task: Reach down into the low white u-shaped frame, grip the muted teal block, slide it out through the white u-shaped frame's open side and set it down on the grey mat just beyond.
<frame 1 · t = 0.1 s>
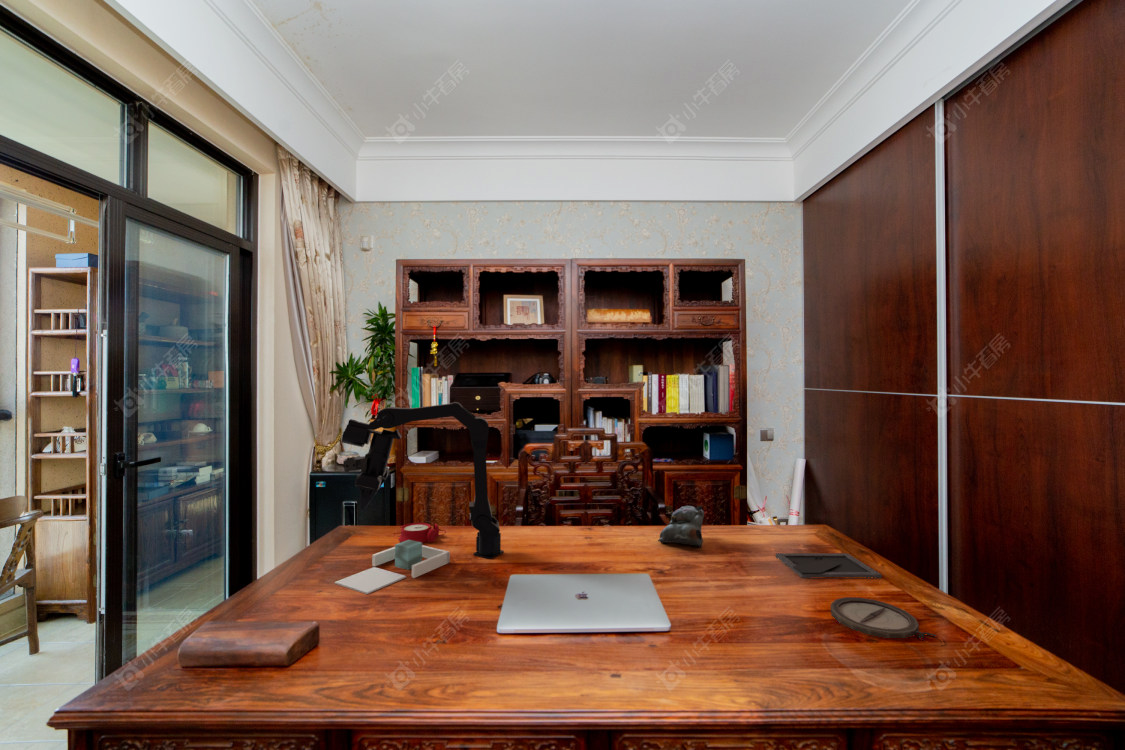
hand: (365, 505, 147), 15 cm above the table, tool pointing down, fingers open, 9 cm apart
picture frame: (825, 569, 145), on the table
white u-shaped frame: (409, 564, 144), on the table
teal block: (408, 565, 143), on the table
grey mat: (370, 580, 133), on the table
compass: (877, 626, 112), on the table
alarm clock: (421, 540, 166), on the table
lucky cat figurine: (681, 544, 163), on the table
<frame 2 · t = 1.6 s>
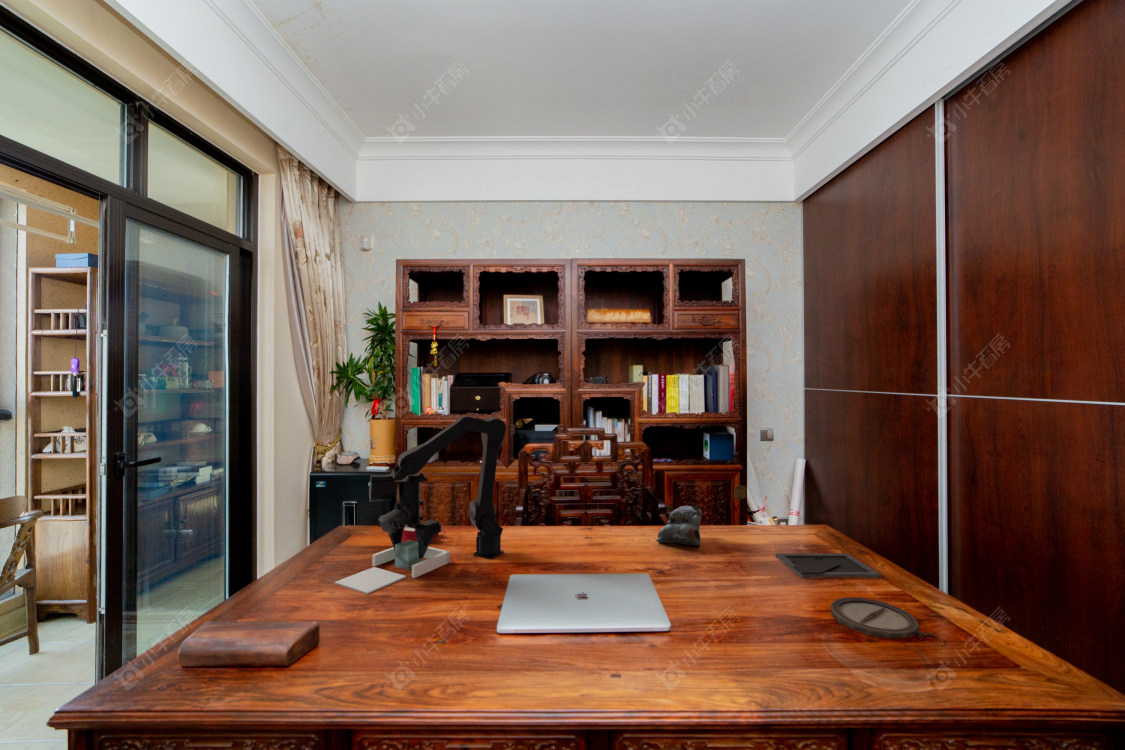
hand: (408, 555, 143), 3 cm above the table, tool pointing down, fingers open, 9 cm apart
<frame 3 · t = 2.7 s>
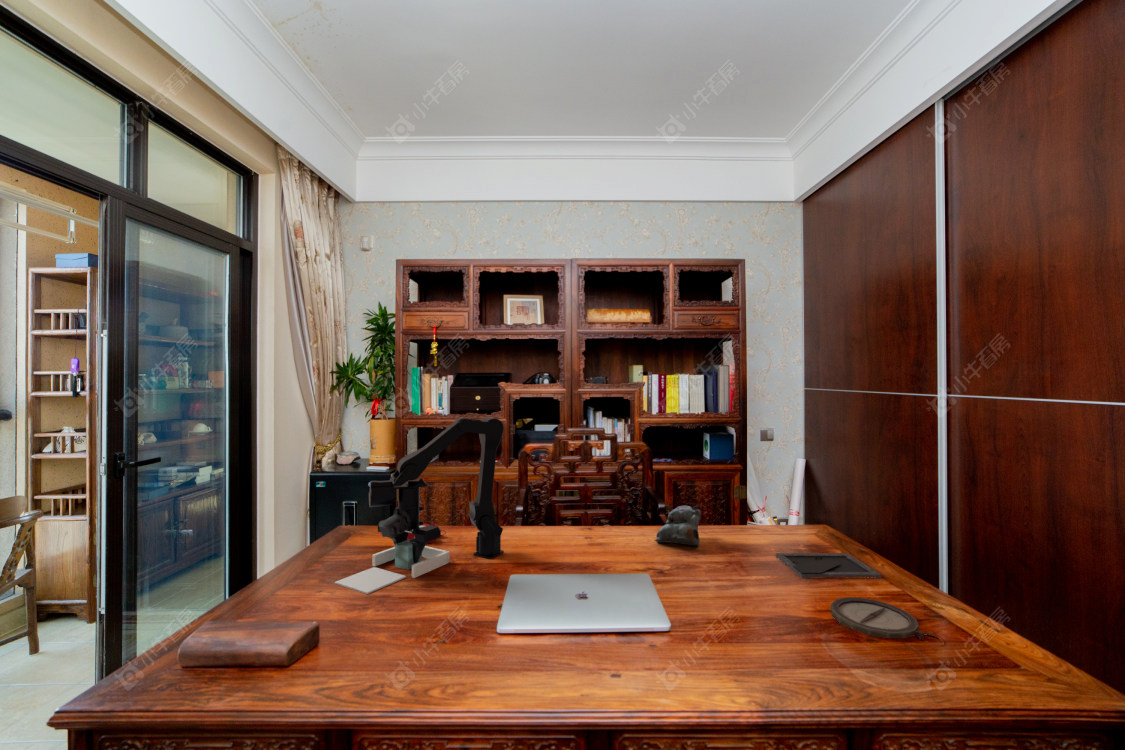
hand: (408, 560, 143), 1 cm above the table, tool pointing down, fingers closed on teal block, 5 cm apart
teal block: (408, 565, 143), on the table, touching gripper
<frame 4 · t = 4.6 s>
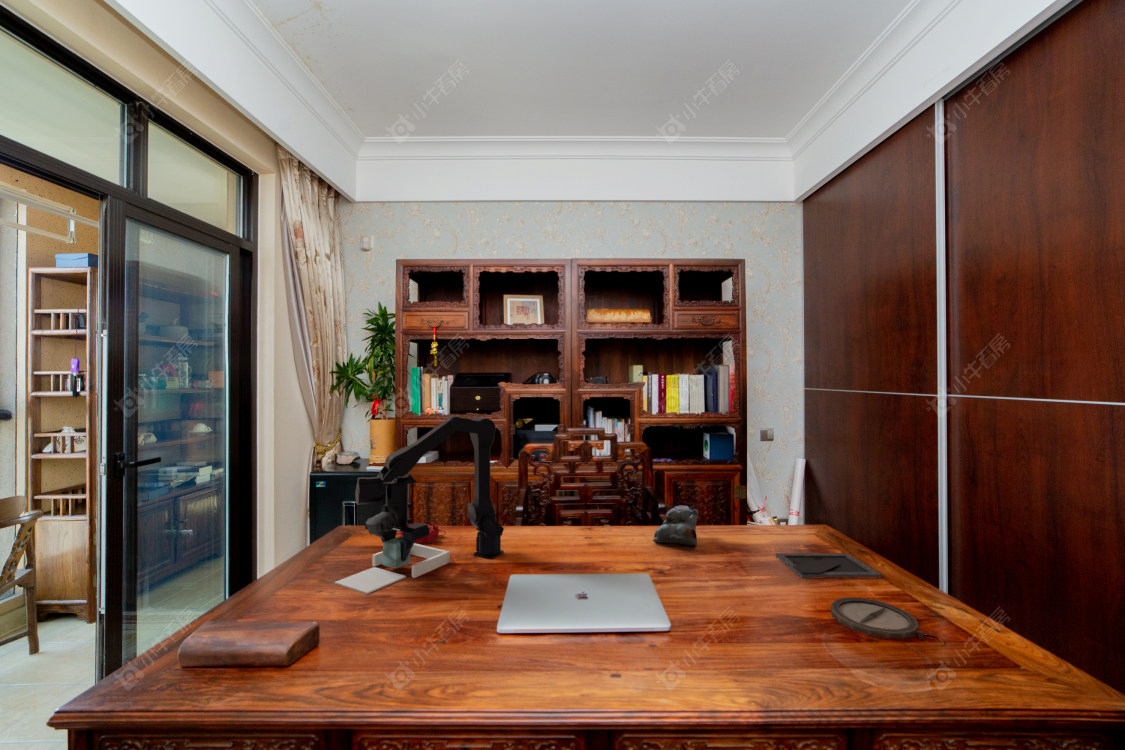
hand: (396, 559, 140), 3 cm above the table, tool pointing down, fingers closed on teal block, 5 cm apart
teal block: (396, 563, 140), point 2 cm above the table, touching gripper
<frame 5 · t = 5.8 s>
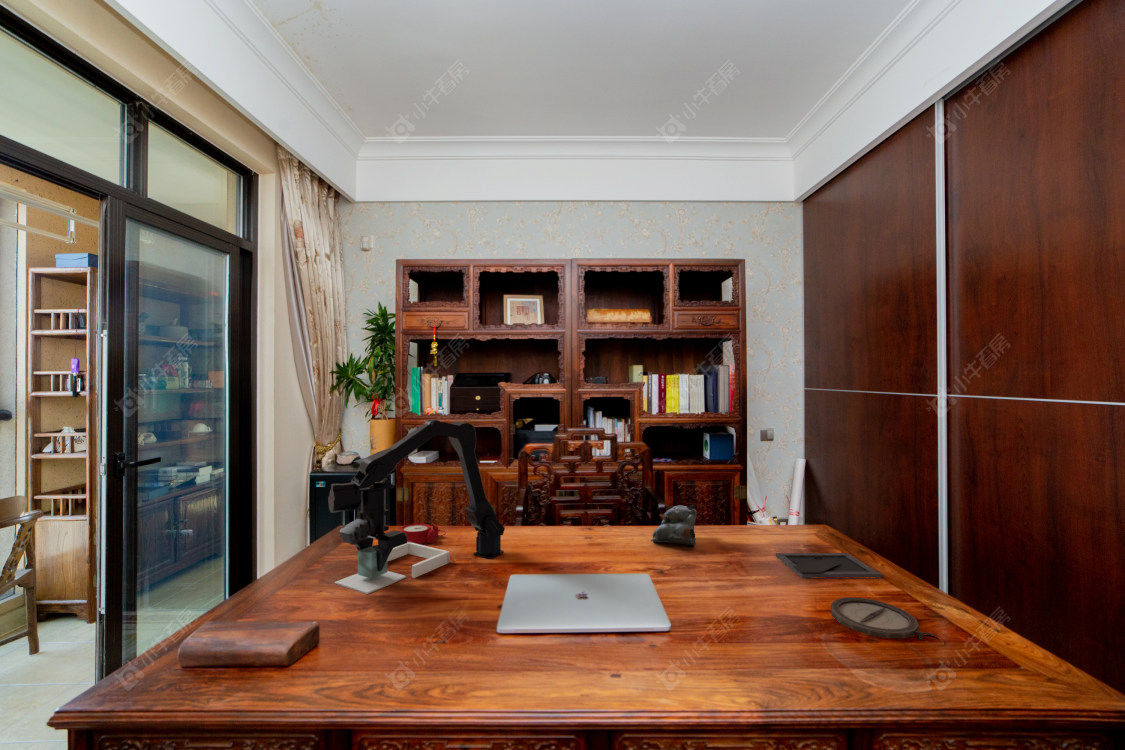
hand: (372, 568, 133), 3 cm above the table, tool pointing down, fingers closed on teal block, 5 cm apart
teal block: (372, 573, 133), point 2 cm above the table, touching gripper
when the fingers open (2 cm above the table, at t = 6.8 s): teal block stays where it is, resting on grey mat.
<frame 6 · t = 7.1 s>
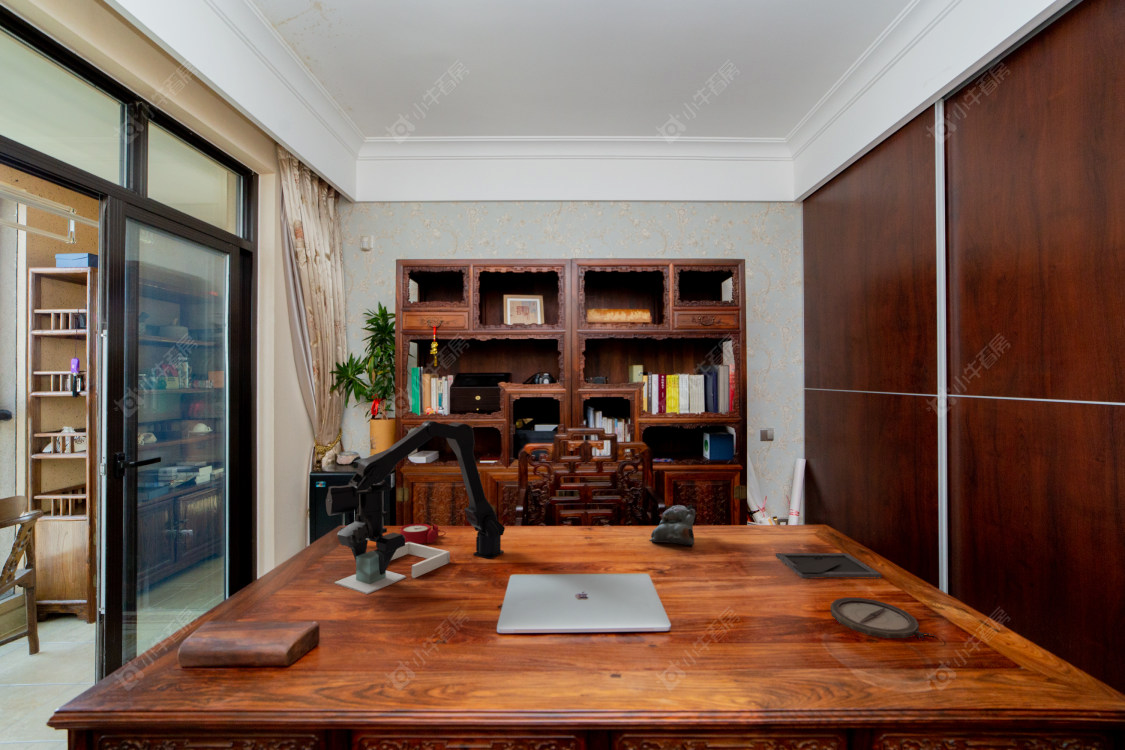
hand: (371, 571, 133), 2 cm above the table, tool pointing down, fingers open, 8 cm apart
teal block: (371, 578, 133), resting on grey mat
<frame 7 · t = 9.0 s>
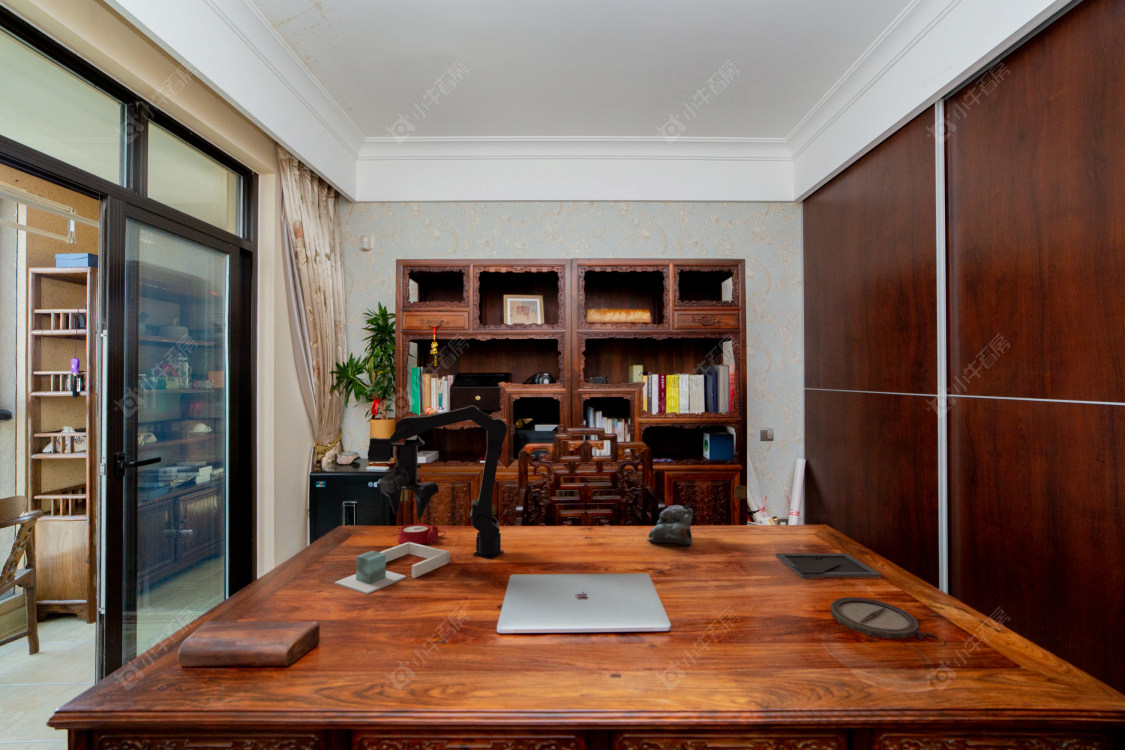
hand: (407, 516, 149), 12 cm above the table, tool pointing down, fingers open, 9 cm apart
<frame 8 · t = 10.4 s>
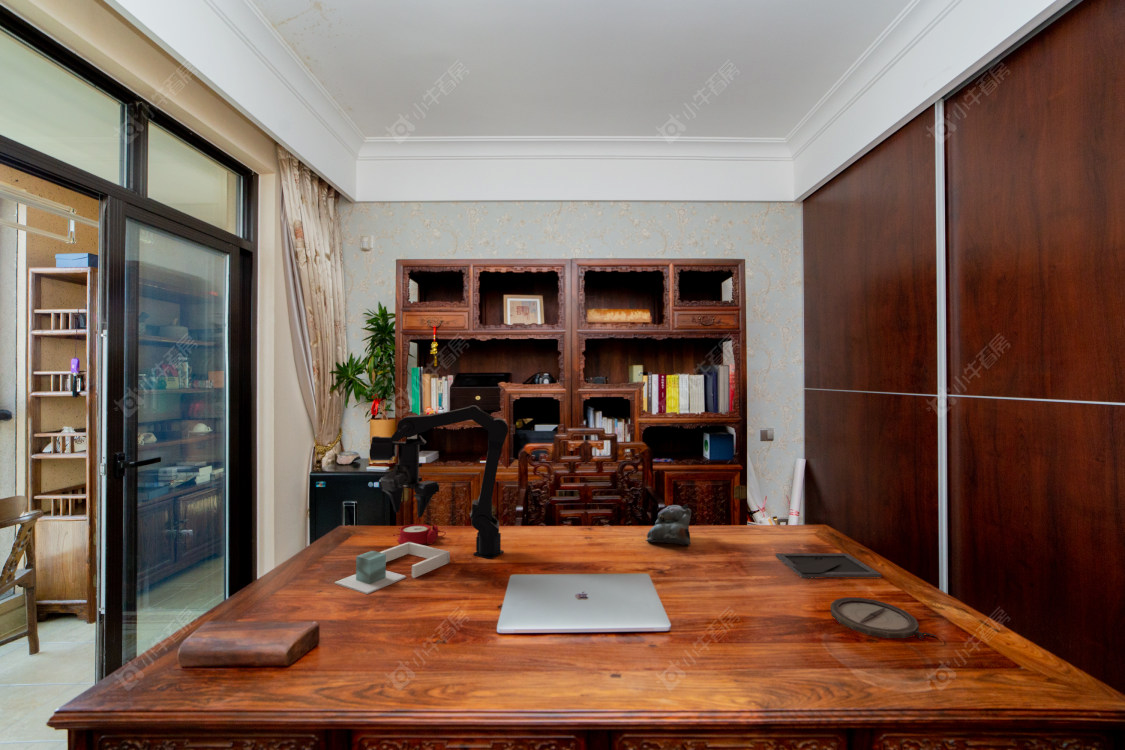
hand: (408, 514, 150), 12 cm above the table, tool pointing down, fingers open, 9 cm apart
at the end: teal block inside the target area on the grey mat (0.0 cm from its centre), point 0.4 cm above the grey mat's base; teal block tilted 0°; the gripper is holding nothing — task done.
